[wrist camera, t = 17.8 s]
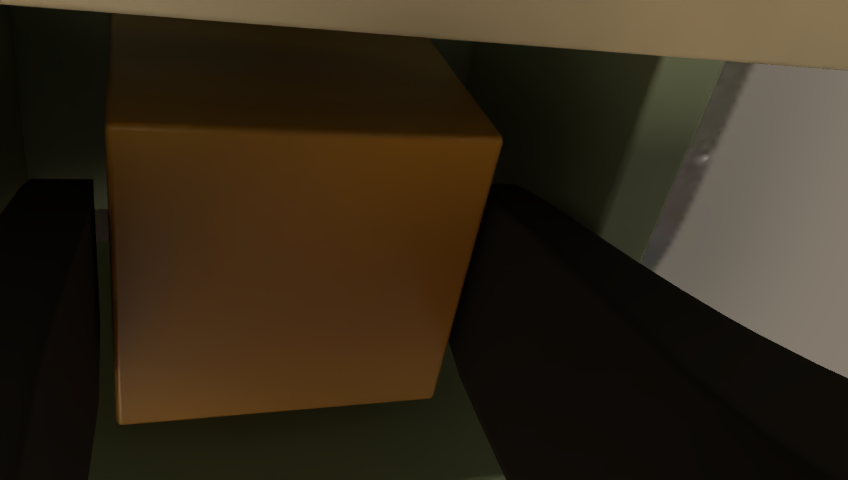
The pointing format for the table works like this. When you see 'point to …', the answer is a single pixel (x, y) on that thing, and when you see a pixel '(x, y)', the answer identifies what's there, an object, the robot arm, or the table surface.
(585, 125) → the drawer
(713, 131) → the table surface
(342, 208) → the block
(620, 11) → the cabinet
